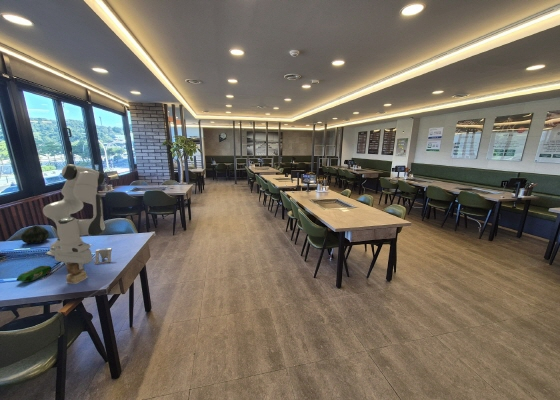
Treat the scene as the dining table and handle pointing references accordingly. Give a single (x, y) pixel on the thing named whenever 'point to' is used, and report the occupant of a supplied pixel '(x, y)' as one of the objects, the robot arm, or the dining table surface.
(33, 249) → the dining table surface
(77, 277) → the oak base block
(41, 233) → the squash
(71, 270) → the walnut cube
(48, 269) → the snack package
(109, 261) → the portable electronic device stand
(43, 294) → the dining table surface
